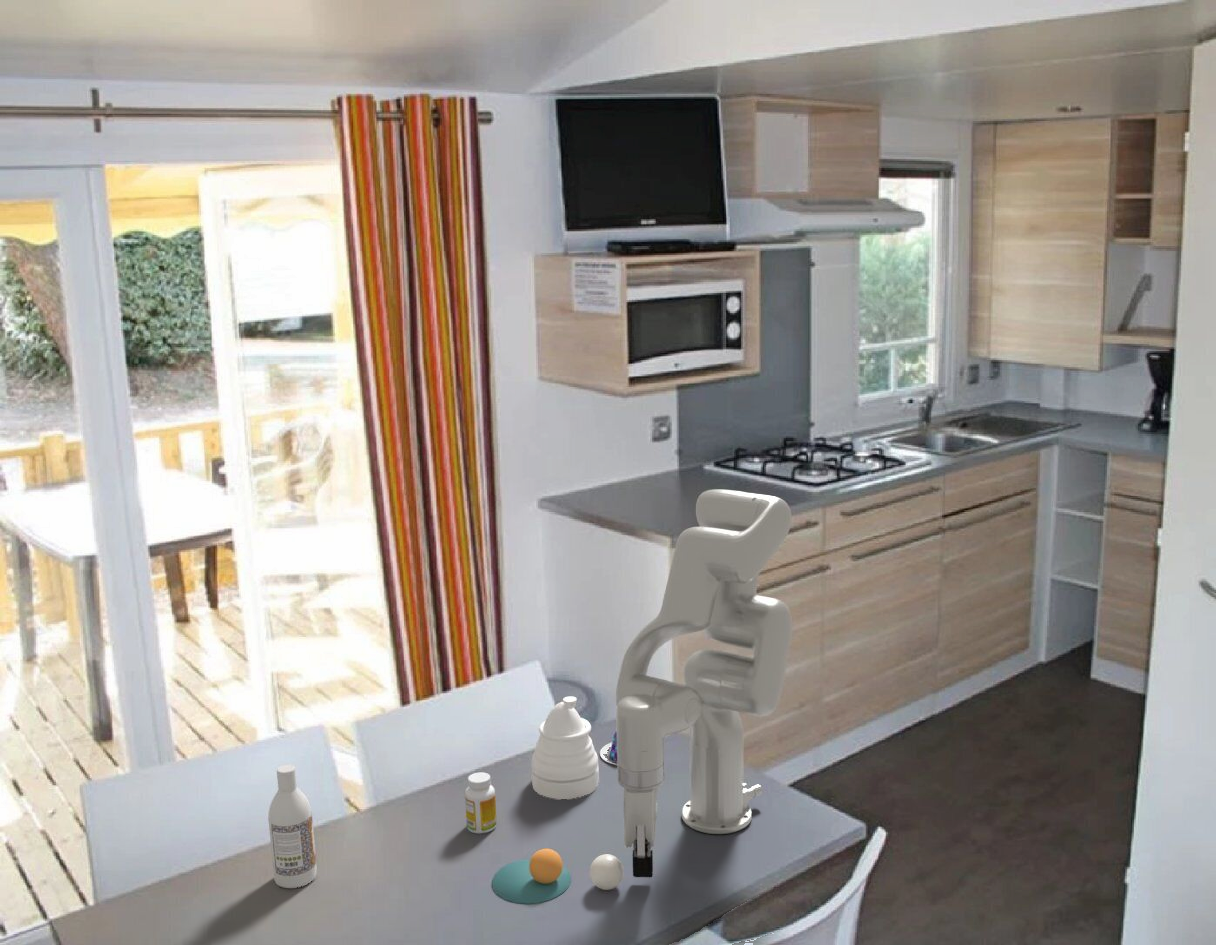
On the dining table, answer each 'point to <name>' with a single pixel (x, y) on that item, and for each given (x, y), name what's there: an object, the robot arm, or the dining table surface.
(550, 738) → the honey pot
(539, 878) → the orange ball
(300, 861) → the bath foam
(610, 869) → the white ball
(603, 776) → the dining table surface
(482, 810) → the supplement bottle
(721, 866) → the dining table surface
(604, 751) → the pudding
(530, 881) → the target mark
